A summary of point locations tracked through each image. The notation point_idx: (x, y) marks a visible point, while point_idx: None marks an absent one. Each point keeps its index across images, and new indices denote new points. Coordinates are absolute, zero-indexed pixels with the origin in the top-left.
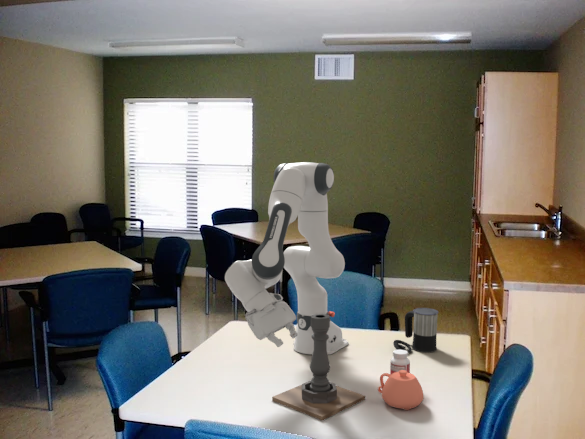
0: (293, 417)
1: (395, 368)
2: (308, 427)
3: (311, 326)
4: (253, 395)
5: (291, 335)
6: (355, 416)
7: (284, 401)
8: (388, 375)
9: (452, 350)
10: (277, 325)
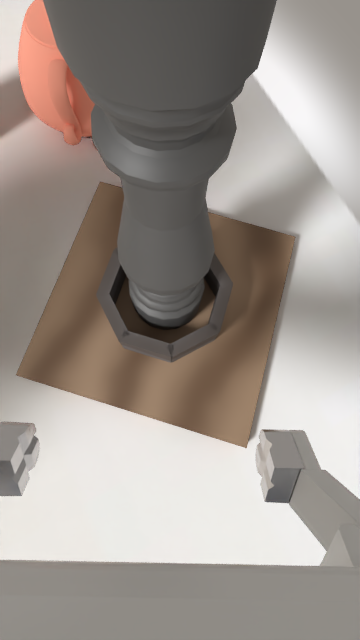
0: (316, 322)
1: None
2: (346, 259)
3: (241, 75)
4: (236, 542)
5: (27, 470)
6: (220, 179)
7: (259, 386)
8: (65, 61)
9: None
10: (242, 603)
